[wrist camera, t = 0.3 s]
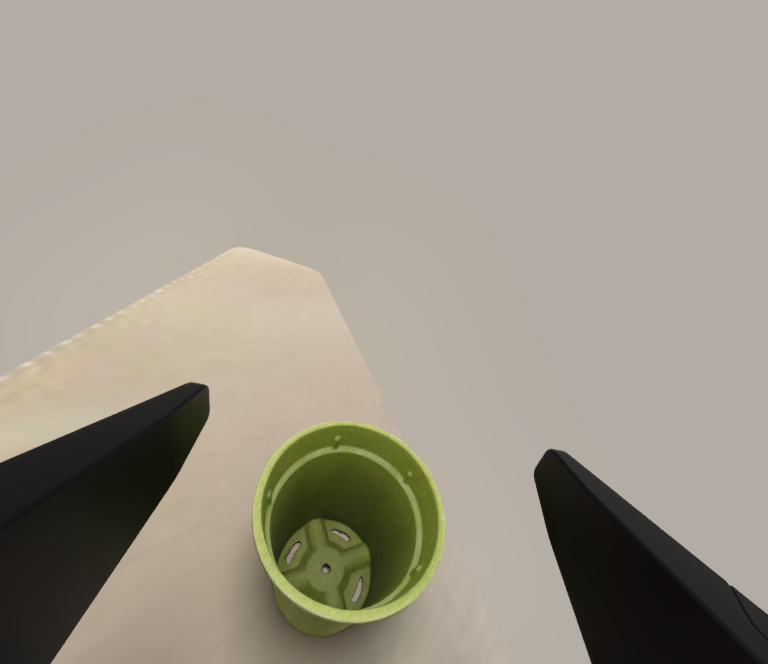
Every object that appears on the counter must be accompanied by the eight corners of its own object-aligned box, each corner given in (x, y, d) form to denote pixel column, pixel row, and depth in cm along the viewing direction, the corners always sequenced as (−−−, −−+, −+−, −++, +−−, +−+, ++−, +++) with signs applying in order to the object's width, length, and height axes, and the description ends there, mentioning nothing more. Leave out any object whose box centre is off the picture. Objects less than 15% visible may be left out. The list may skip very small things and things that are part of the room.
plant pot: (200, 628, 16) (198, 549, 12) (296, 476, 24) (316, 397, 20) (365, 723, 15) (429, 676, 11) (407, 531, 23) (453, 461, 19)
